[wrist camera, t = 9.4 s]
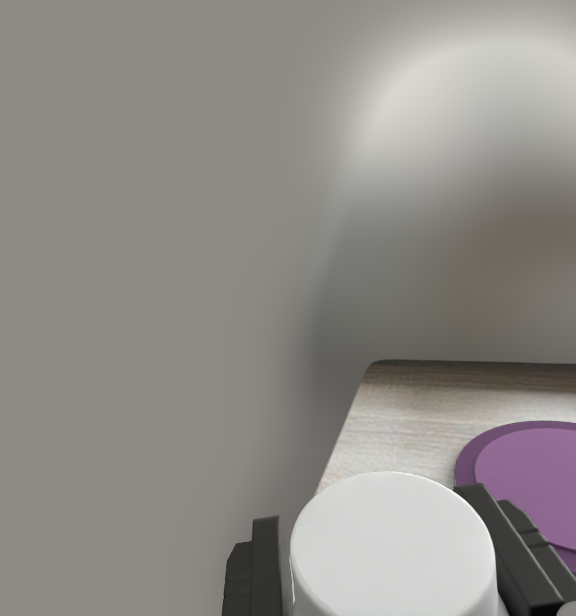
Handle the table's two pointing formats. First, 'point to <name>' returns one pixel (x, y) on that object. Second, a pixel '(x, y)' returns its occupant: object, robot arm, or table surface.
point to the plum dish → (530, 475)
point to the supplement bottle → (392, 551)
